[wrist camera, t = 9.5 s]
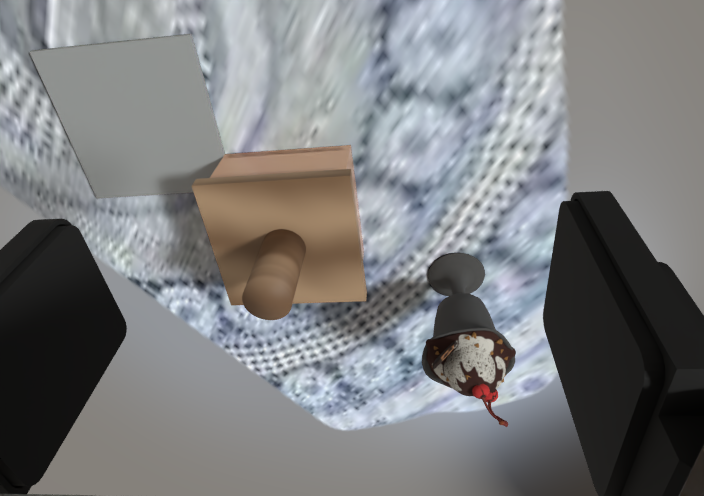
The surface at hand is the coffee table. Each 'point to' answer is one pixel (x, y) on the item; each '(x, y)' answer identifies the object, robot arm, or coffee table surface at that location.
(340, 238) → the lid
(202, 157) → the mat
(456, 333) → the sundae
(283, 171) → the open wooden box
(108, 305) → the robot arm
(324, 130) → the coffee table surface
